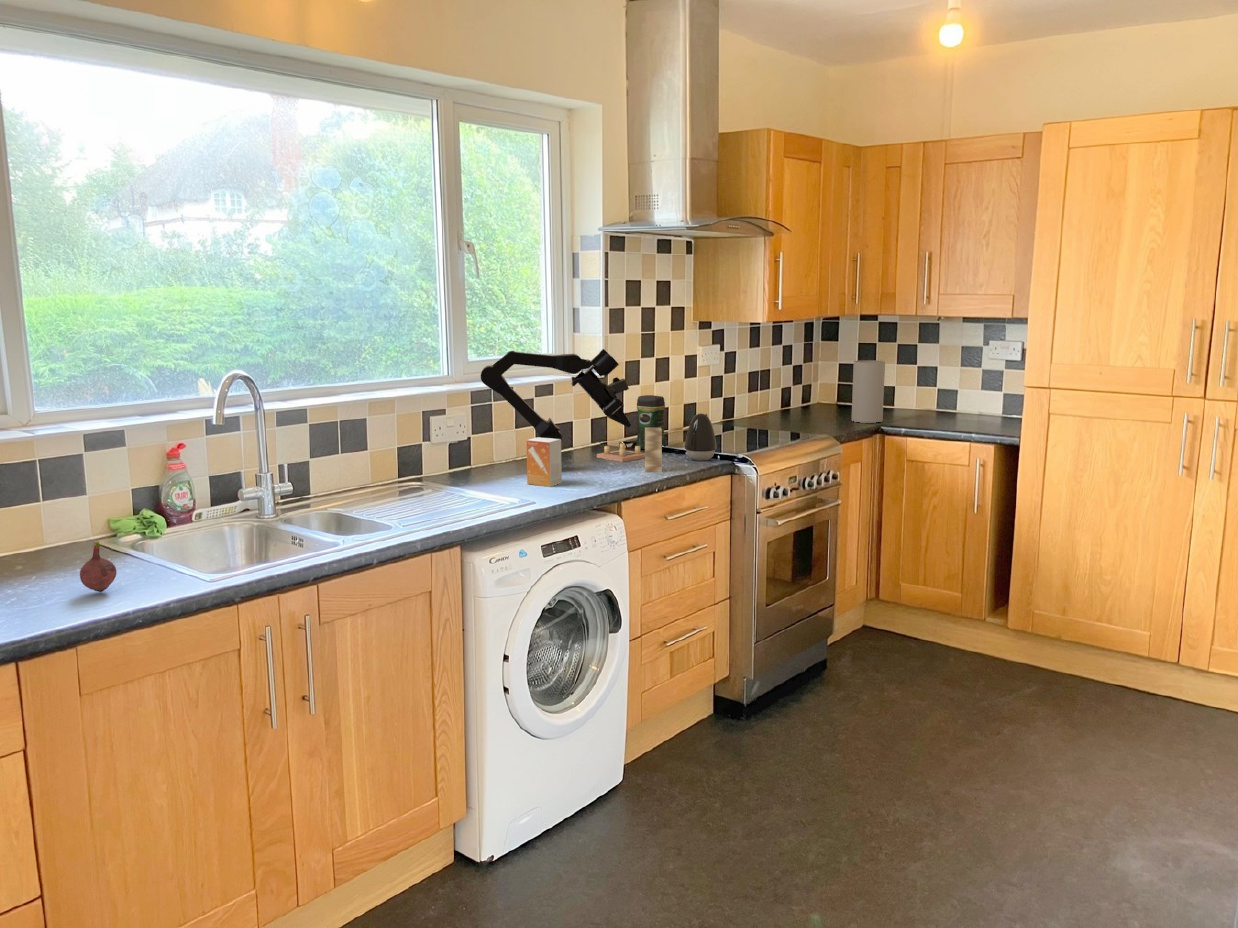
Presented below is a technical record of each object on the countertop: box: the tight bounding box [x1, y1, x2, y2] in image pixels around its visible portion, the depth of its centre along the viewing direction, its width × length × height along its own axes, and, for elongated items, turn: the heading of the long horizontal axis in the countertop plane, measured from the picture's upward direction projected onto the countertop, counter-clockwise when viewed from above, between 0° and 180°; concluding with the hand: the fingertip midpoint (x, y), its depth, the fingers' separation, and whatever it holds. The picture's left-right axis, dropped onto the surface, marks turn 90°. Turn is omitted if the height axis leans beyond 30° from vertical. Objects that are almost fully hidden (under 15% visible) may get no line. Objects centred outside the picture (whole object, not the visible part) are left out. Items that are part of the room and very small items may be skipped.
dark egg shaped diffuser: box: [684, 412, 717, 462], centre depth 316 cm, size 10×10×15 cm
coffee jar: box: [636, 394, 666, 450], centre depth 339 cm, size 10×8×19 cm
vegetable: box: [79, 540, 118, 593], centre depth 180 cm, size 6×6×10 cm
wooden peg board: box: [596, 443, 645, 463], centre depth 322 cm, size 12×12×4 cm
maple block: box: [644, 428, 663, 473], centre depth 298 cm, size 5×5×13 cm
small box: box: [526, 436, 563, 488], centre depth 279 cm, size 8×6×13 cm
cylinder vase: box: [851, 359, 886, 424], centre depth 401 cm, size 12×12×25 cm
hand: (628, 424), depth 300 cm, fingers open, 9 cm apart
